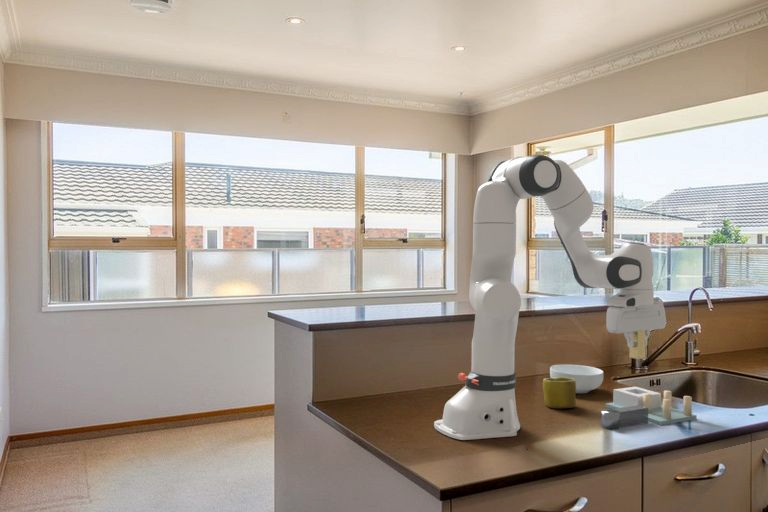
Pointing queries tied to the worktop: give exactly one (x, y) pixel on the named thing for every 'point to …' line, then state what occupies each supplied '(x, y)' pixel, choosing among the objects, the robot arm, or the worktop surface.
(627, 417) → the grey lever handle
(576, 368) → the cereal bowl
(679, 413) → the jig plate
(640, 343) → the wooden bar
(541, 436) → the worktop surface
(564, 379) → the mug
